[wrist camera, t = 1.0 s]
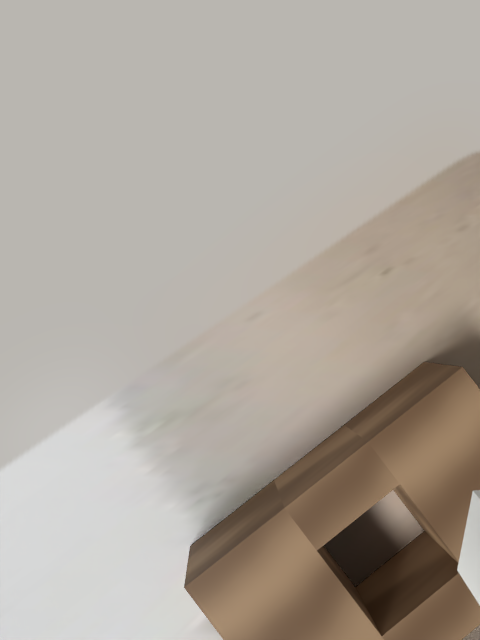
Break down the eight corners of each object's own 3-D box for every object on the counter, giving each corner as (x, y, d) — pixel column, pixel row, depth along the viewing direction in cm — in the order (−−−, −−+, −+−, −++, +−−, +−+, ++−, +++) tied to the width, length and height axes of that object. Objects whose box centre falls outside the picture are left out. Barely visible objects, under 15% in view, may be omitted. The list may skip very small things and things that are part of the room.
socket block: (530, 501, 31) (588, 533, 26) (299, 691, 30) (315, 761, 25) (424, 362, 31) (462, 366, 26) (190, 546, 30) (184, 587, 25)
